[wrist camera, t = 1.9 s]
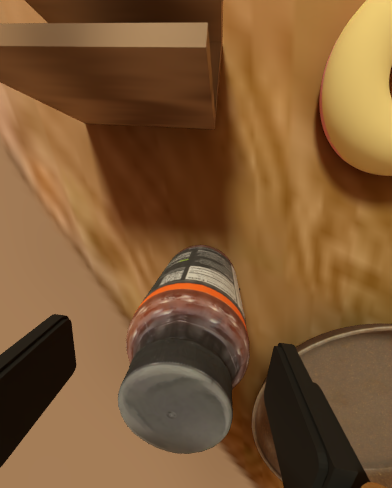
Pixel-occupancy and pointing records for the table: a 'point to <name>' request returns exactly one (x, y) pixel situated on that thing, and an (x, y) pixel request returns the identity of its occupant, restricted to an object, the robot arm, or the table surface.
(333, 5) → the table surface
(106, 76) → the napkin holder
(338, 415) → the plant saucer
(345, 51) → the donut
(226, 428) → the supplement bottle
